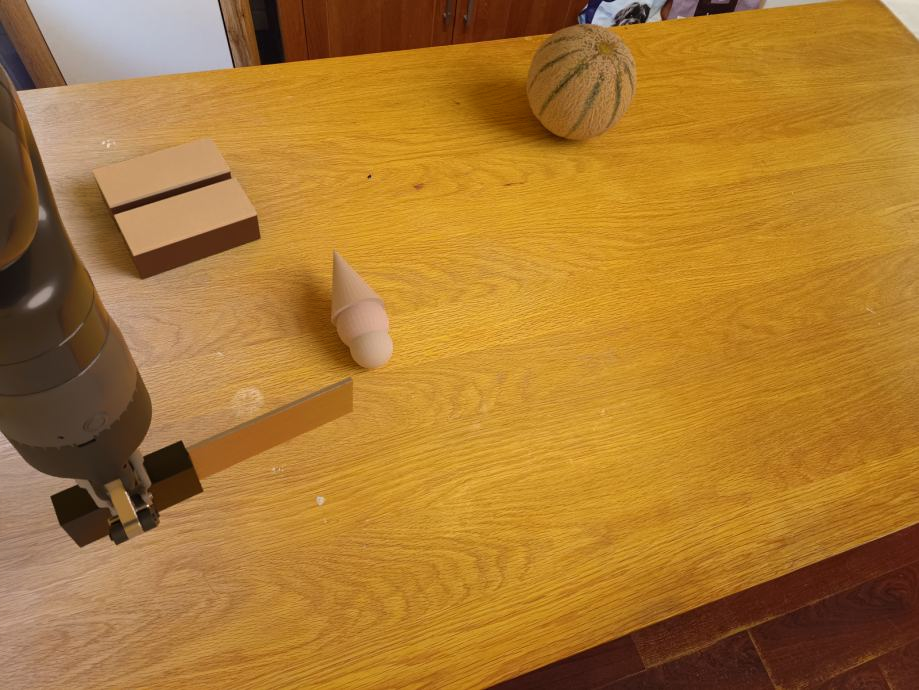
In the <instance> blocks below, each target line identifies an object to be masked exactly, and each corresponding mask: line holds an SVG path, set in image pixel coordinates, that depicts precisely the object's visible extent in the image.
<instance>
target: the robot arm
mask: <svg viewBox="0 0 919 690" xmlns="http://www.w3.org/2000/svg"><path fill="white" fill-rule="evenodd" d="M43 161H44V160H43V159H42V155H41V152H40V150H39V147H38V144H37V141H36V139H35V136H34V133H33V129H32V127H31V124H30V121H29V119H28V116H27V113H26V110H25V108H24V106H23V103H22V100H21V99H20V96H19V94H18V92H17V90H16V87H15V85H14V83H13V81H12V80H11V77H10V76H9V74H8V73H7V71H6V70H5V68H4V67H3V65H2V64H1V63H0V432H1V434H2V436H4V438H6V440H7V441H8V442H9V443H10V444H11V446H12V447H13V448H14V450H15V451H16V452H17V453H18V454H19V455H20V456H21V458H22V459H23V460H24V462H26V463H27V464H28V465H29V466H30V467H32V468H33V469H35V470H36V471H38V472H40V473H42V474H44V475H47V476H50V477H54V478H58V479H59V478H60V479H68V480H69V479H70V480H74V481H75V483H76V485H77V484H78V485H79V487H81V488H86V489H87V491H88V492H89V494H90V495H91V497H92V498H93V500H94V501H95V503H96V504H97V506H98V507H100V508H104V507H108V508H110V512H111V514H112V516H113V517H111V518H109V519H108V523H109V525H110V526H109V531H110V533H109V535H108V538H109V539H110V541H111V542H113V543H114V545H115V546H116V547H117V546H119V545H121V544H123V543H125V542H127V541H130V540H132V539H134V538H136V537H139V536H141V535H143V534H145V533H148V532H149V531H152V530H154V529H157V528H158V527H159V525H160V523H161V521H160V517H161V515H160V512H158V510H157V508H156V506H155V505H154V503H153V501H152V498H153V496H152V494H151V491H150V492H148V490H147V489H148V488H149V487H150V486H151V481H150V479H149V476H148V474H147V471H146V469H145V467H144V465H143V462H144V458H143V456H144V455H143V454H142V452H141V451H142V450H141V448H140V446H141V444H142V442H143V441H144V440H145V438H146V436H147V434H148V432H149V429H150V427H151V423H152V417H153V403H152V400H151V396H150V393H149V391H148V389H147V387H146V385H145V382H144V379H143V378H142V376H141V373H140V370H139V369H138V366H137V364H136V362H135V360H134V357H133V354H132V352H131V351H130V348H129V346H128V343H127V342H126V339H125V337H124V335H123V332H121V329H120V328H119V326H118V325H117V323H116V322H115V320H114V318H113V317H112V316H111V315H110V314H109V312H108V310H107V309H106V308H105V306H104V304H103V301H102V299H101V297H100V295H99V293H98V290H97V288H96V286H95V284H94V281H93V279H92V277H91V274H90V273H89V271H88V269H87V267H86V264H85V263H84V261H83V260H82V258H81V256H80V255H79V253H78V252H77V249H76V248H75V246H74V244H73V242H72V240H71V238H70V236H69V233H68V232H67V229H66V227H65V224H64V222H63V220H62V217H61V214H60V210H59V208H58V205H57V202H56V198H55V195H54V192H53V189H52V186H51V183H50V180H49V177H48V174H47V170H46V167H45V164H44V162H43ZM133 468H134V469H133Z"/></svg>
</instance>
